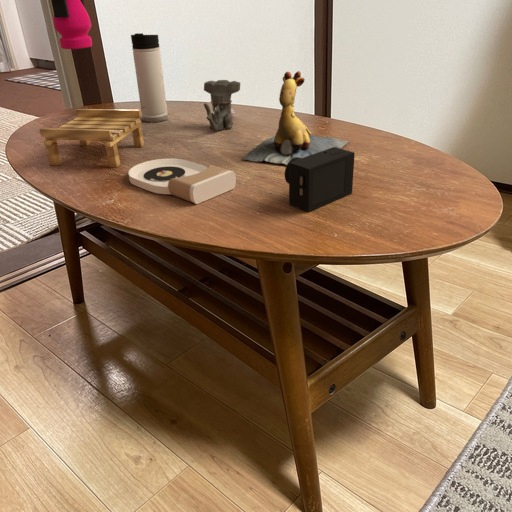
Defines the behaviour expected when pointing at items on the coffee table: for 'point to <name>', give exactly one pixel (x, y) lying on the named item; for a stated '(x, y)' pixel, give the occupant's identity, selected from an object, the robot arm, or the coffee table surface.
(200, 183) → the record player
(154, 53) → the travel mug
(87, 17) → the pepper mill
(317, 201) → the digital camera
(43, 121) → the coffee table surface
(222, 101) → the grey flared upright piece
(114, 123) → the rack
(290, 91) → the stuffed giraffe
